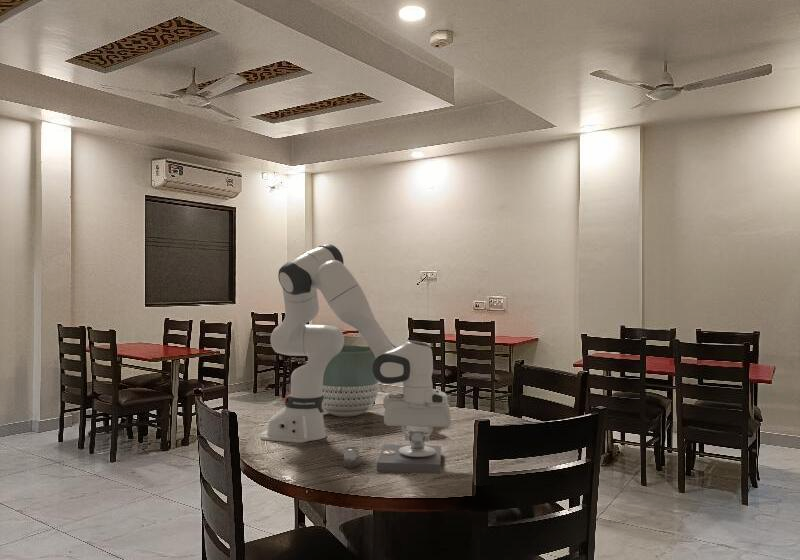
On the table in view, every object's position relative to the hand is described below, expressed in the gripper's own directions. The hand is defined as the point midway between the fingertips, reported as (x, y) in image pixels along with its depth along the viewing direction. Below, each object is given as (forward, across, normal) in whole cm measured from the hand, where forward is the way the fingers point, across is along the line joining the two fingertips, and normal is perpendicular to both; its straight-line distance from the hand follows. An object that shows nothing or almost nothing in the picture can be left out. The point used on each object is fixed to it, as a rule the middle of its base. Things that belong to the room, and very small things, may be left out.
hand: (417, 440), depth 188 cm
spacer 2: (+2, 0, 0) cm, 2 cm away
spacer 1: (+6, -19, -6) cm, 21 cm away
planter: (+7, -32, +64) cm, 72 cm away
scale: (+6, -2, 0) cm, 7 cm away
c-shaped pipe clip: (+7, -1, +49) cm, 50 cm away
